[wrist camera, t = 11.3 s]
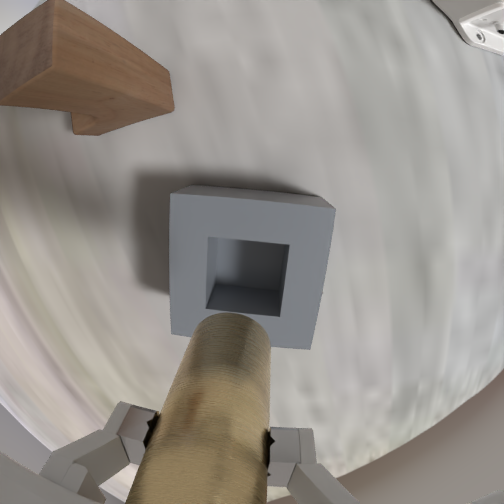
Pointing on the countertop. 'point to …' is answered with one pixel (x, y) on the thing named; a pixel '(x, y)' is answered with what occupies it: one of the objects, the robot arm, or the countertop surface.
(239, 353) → the brass pin
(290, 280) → the hole holder
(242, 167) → the countertop surface
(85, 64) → the wooden block
